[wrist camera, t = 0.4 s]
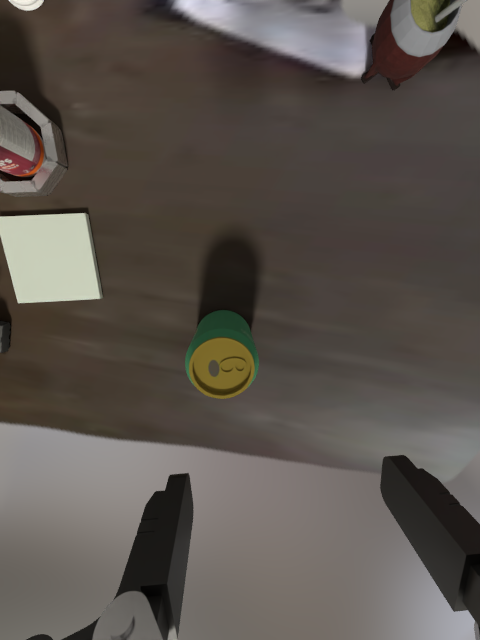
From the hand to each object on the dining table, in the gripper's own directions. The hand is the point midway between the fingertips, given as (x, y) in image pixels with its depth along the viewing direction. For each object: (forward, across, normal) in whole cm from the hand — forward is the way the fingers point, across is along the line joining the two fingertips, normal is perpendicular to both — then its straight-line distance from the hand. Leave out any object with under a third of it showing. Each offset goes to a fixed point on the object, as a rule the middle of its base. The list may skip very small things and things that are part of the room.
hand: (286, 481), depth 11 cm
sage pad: (+28, +25, -10) cm, 39 cm away
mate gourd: (+29, -19, -30) cm, 46 cm away
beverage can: (+28, +3, +3) cm, 29 cm away
